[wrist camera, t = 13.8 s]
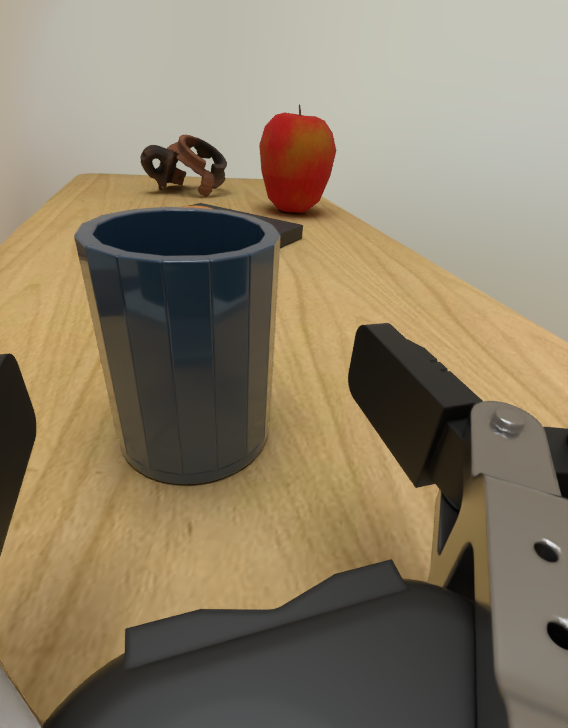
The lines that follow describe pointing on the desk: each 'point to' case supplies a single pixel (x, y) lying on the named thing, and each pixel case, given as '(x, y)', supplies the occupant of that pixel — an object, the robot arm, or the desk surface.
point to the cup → (184, 335)
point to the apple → (296, 160)
